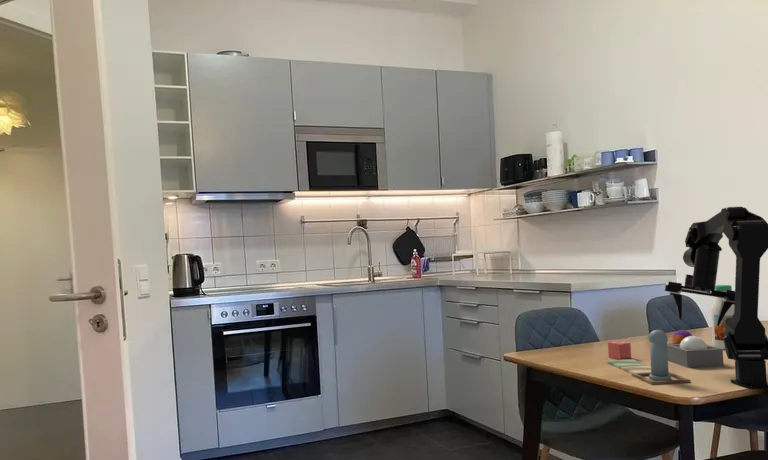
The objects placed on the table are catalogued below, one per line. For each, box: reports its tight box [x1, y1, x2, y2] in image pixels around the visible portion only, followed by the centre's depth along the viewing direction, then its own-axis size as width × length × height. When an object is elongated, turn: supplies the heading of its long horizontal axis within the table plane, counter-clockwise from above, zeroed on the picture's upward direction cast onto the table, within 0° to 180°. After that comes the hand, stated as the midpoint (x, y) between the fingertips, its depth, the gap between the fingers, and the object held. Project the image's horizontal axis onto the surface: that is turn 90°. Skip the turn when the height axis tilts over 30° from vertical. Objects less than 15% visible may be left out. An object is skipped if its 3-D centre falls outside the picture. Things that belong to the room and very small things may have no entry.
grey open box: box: [667, 343, 725, 368], centre depth 163 cm, size 10×10×4 cm
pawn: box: [648, 329, 672, 381], centre depth 146 cm, size 5×5×12 cm
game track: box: [605, 358, 691, 386], centre depth 154 cm, size 27×10×1 cm, turn 4°
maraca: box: [667, 329, 693, 345], centre depth 181 cm, size 6×6×20 cm
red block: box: [607, 340, 632, 360], centre depth 174 cm, size 4×4×5 cm
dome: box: [680, 335, 708, 350], centre depth 163 cm, size 7×7×7 cm
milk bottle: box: [710, 284, 735, 350], centre depth 182 cm, size 8×8×20 cm
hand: (698, 322), depth 158 cm, fingers open, 9 cm apart
